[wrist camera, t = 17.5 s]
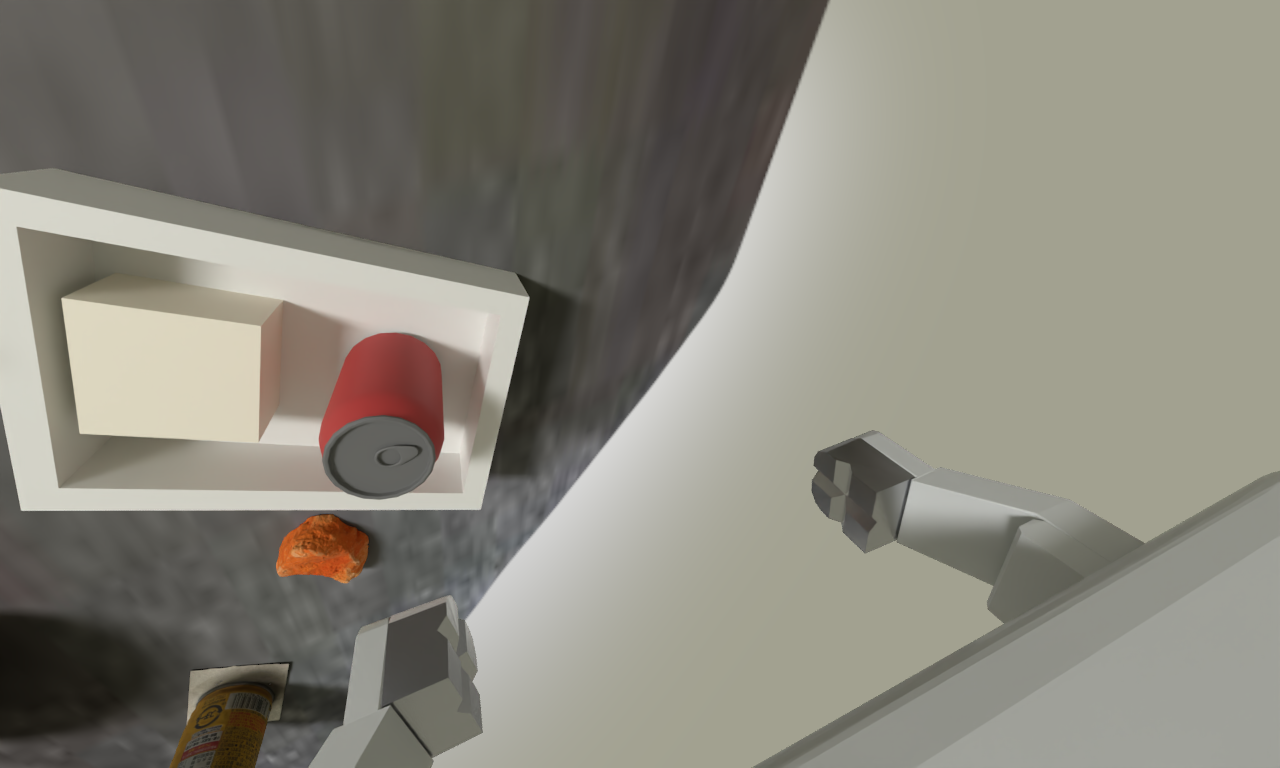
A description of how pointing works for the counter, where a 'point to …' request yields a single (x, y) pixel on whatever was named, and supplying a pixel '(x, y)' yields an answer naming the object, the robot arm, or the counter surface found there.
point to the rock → (323, 549)
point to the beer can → (384, 418)
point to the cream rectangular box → (173, 359)
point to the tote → (310, 353)
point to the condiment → (230, 715)
